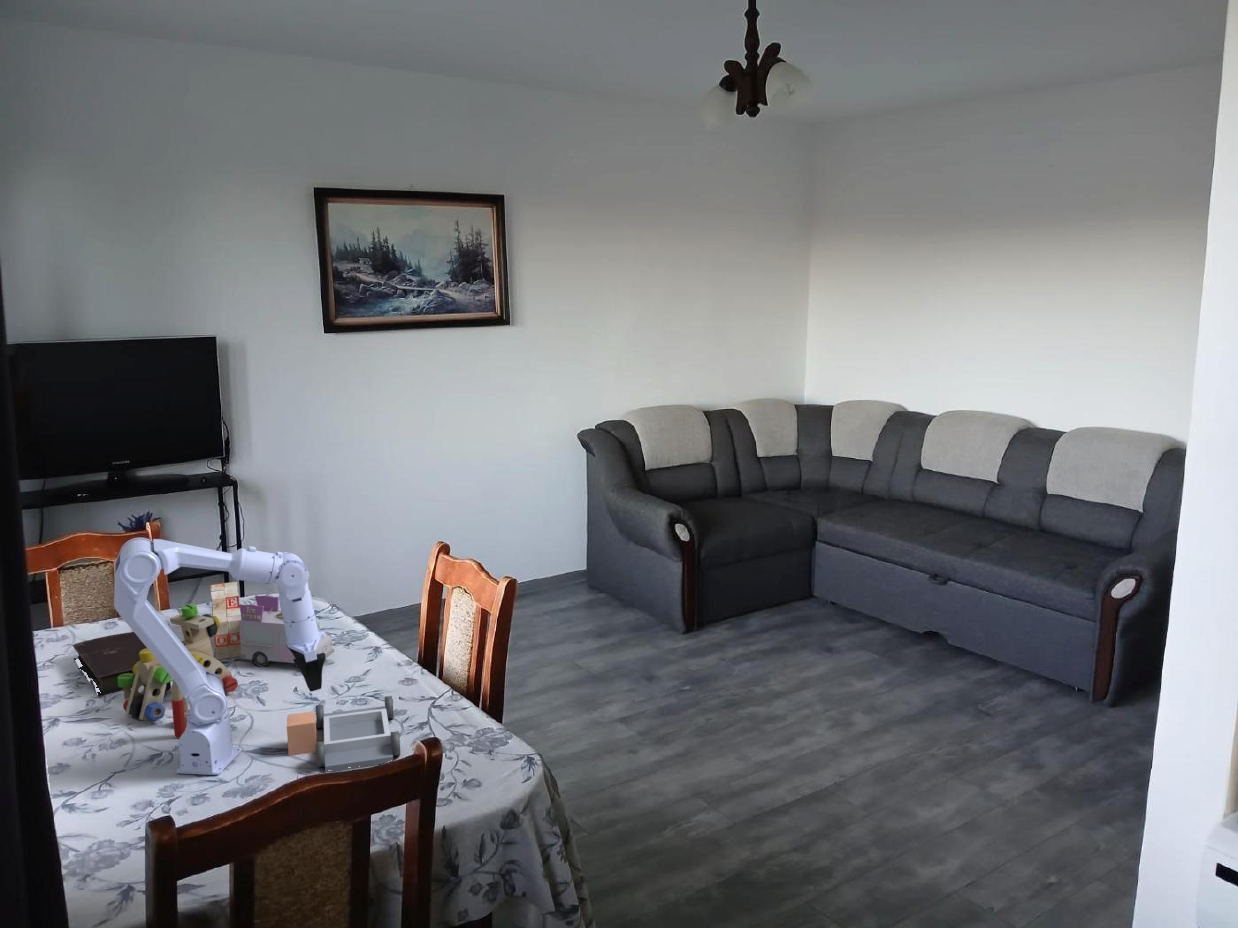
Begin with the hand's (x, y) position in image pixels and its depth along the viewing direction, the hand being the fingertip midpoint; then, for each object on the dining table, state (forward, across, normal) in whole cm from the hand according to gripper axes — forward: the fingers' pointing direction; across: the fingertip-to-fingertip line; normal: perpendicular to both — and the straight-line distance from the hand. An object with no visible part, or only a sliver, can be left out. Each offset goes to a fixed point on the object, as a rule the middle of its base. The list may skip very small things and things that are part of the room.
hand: (312, 681), depth 180 cm
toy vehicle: (+12, +41, 0) cm, 43 cm away
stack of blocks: (+11, +60, +12) cm, 63 cm away
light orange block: (+11, -3, +4) cm, 12 cm away
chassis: (+12, -4, -6) cm, 14 cm away
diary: (+8, +54, +34) cm, 64 cm away
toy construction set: (+9, +25, +24) cm, 36 cm away
